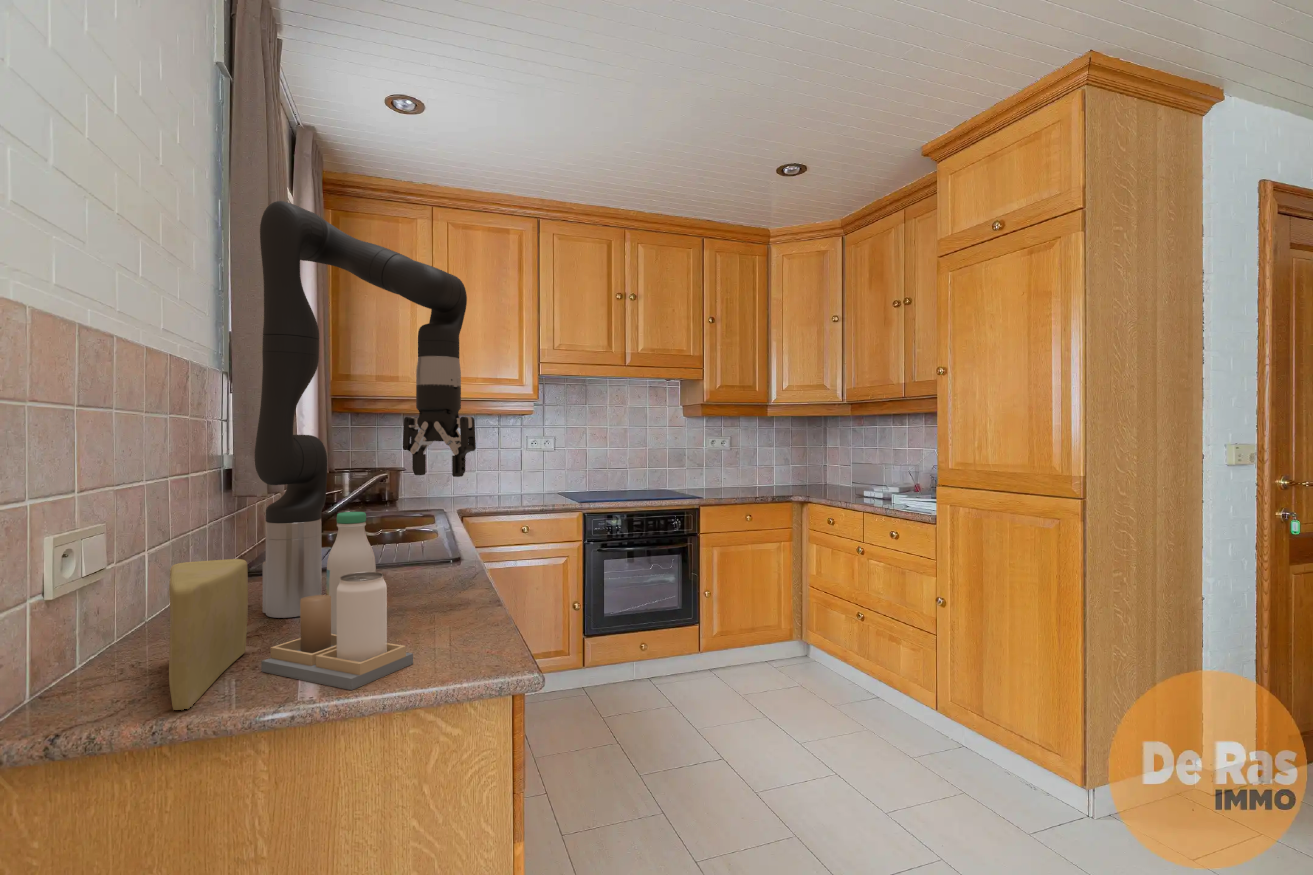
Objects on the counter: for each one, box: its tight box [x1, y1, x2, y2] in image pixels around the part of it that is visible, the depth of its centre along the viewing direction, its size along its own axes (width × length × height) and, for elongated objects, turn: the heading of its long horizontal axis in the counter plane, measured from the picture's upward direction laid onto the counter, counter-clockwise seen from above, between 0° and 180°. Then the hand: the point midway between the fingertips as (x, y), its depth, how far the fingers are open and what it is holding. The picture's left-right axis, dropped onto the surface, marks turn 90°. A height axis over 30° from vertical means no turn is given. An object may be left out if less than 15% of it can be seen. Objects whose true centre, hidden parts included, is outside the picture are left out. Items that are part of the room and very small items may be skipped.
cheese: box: [168, 558, 249, 711], centre depth 91 cm, size 22×10×15 cm, turn 26°
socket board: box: [260, 594, 414, 691], centre depth 96 cm, size 17×11×10 cm, turn 67°
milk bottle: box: [325, 511, 377, 635], centre depth 115 cm, size 8×8×20 cm
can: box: [337, 571, 388, 662], centre depth 94 cm, size 6×6×12 cm
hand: (438, 475), depth 119 cm, fingers open, 8 cm apart
